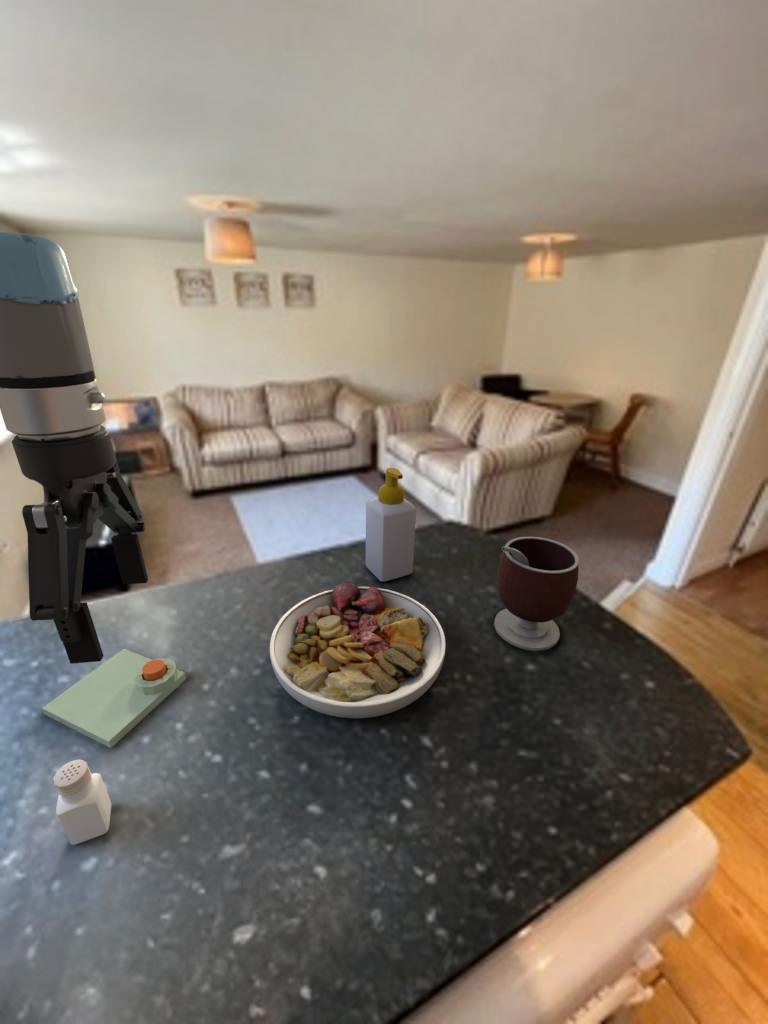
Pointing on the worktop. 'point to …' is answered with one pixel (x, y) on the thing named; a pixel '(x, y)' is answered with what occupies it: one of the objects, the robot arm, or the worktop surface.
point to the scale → (113, 697)
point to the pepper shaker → (81, 802)
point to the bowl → (357, 651)
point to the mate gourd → (534, 590)
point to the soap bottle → (390, 530)
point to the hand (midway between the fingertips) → (114, 616)
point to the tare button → (154, 670)
